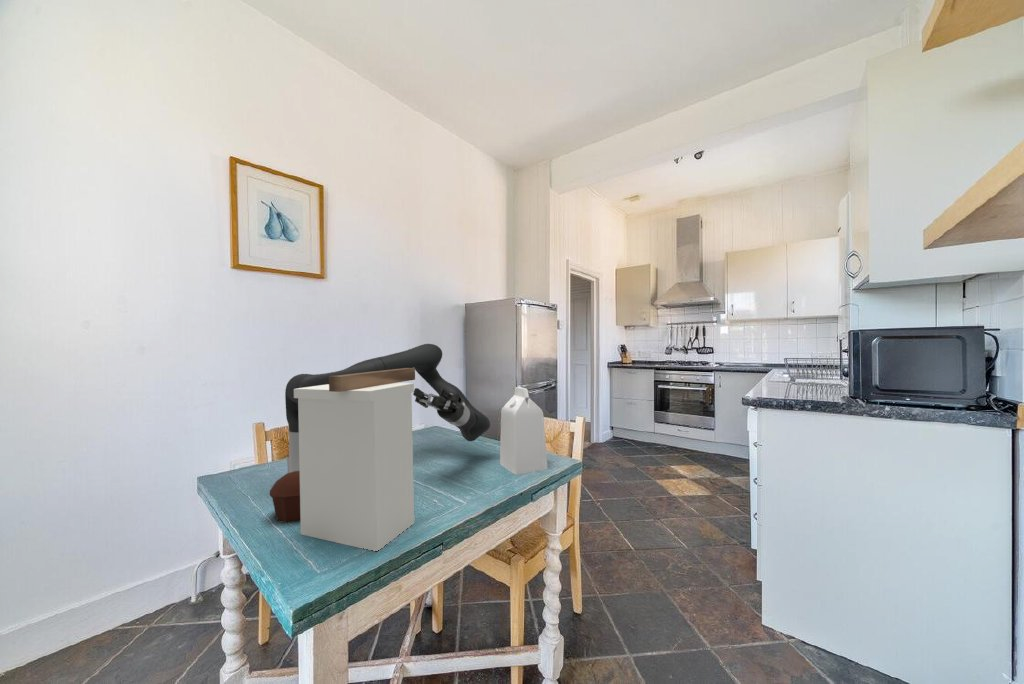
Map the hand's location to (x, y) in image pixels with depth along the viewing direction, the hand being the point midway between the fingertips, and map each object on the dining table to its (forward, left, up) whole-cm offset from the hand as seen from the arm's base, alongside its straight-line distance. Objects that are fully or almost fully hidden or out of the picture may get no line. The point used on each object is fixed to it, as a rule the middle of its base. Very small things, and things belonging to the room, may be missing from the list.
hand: (427, 391), depth 101 cm
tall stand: (-4, -23, -28) cm, 36 cm away
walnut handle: (0, -20, +4) cm, 20 cm away
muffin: (-24, -22, -28) cm, 43 cm away
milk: (+18, +27, -28) cm, 43 cm away
